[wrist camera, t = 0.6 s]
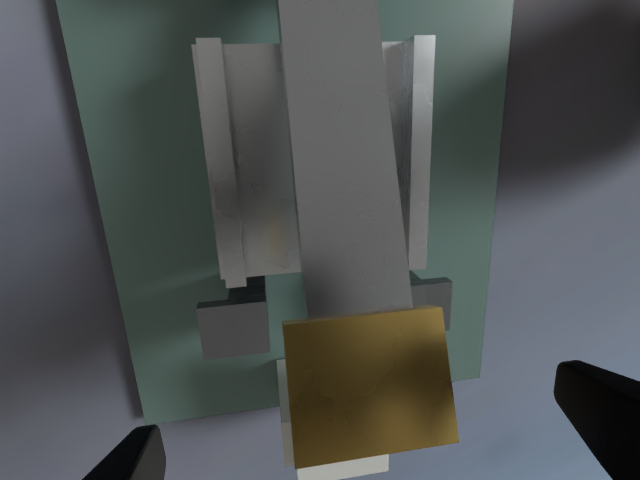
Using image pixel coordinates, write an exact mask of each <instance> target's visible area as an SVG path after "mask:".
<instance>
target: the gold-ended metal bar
mask: <svg viewBox="0 0 640 480" xmlns="http://www.w3.org/2000/svg"><path fill="white" fill-rule="evenodd" d="M276 7H277V18H278V29H279V40H280V50H281V61H282V72H283V83H284V94H285V105H286V115H287V126H288V137H289V148H290V159H291V169H292V180H293V191H294V202H295V213H296V223H297V234H298V245H299V256H300V267H301V278H302V288H303V299H304V310H305V318H303V319H294V320H285V321H282V330H283V342H284V353H285V365H286V376H287V388H288V399H289V411H290V422H291V434H292V445H293V455H294V463H295V469H301V468H308V467H314V466H320V465H326V464H332V463H338V462H344V461H350V460H356V459H362V458H368V457H374V456H380V455H386V454H392V453H398V452H404V451H410V450H416V449H422V448H428V447H434V446H440V445H446V444H452V443H458V442H459V438H458V430H457V422H456V414H455V406H454V398H453V390H452V382H451V374H450V366H449V358H448V350H447V342H446V334H445V326H444V318H443V310H442V307H440V306H434V305H428V304H427V305H418V306H413V303H412V294H411V286H410V277H409V269H408V260H407V252H406V244H405V235H404V227H403V218H402V210H401V201H400V193H399V184H398V176H397V168H396V159H395V151H394V142H393V134H392V125H391V117H390V108H389V100H388V92H387V83H386V75H385V66H384V58H383V49H382V41H381V33H380V24H379V16H378V7H377V0H276Z"/></svg>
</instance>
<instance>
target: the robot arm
mask: <svg viewBox="0 0 640 480" xmlns="http://www.w3.org/2000/svg"><path fill="white" fill-rule="evenodd" d="M554 397H555V400H556V402H557V403H558V405H559V406H560V408H561V409H562V411H563V412H564V413H565V415H566V416H567V418H568V419H569V421H570V422H571V423H572V425H573V426H574V428H575V429H576V431H577V432H578V433H579V435H580V436H581V438H582V439H583V440H584V442H585V443H586V445H587V446H588V448H589V449H590V450H591V452H592V453H593V455H594V456H595V457H596V459H597V460H598V461H599V463H600V464H601V465H602V467H603V468H604V469H605V471H606V472H607V473H608V474H609V476H610V477H611V478H612V479H613V480H640V381H637V380H634V379H631V378H628V377H625V376H622V375H620V374H617V373H614V372H611V371H608V370H605V369H602V368H599V367H597V366H594V365H591V364H588V363H585V362H582V361H579V360H572V361H565V362H561V363H559V365H558V366H557V371H556V378H555V385H554ZM165 468H166V456H165V451H164V447H163V442H162V438H161V433H160V429H159V427H158V426H157V425H155V424H153V425H147V426H140V427H137V428H135V429H134V430H132V431H131V432H130V433H129V434H128V435H127V436H126V437H125V438H124V439H123V440H122V441H121V442H120V443H119V444H118V445H117V446H116V447H115V448H114V449H113V450H112V451H111V452H110V453H109V454H108V455H107V456H106V457H105V458H104V459H103V460H102V461H101V462H100V463H99V464H98V465H97V466H95V467H94V468H93V469H92V470H91V471H90V472H89V473H88V474H87V475H86V476H85V477H84V478H83V479H82V480H164V475H165Z"/></svg>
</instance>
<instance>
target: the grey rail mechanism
mask: <svg viewBox="0 0 640 480" xmlns="http://www.w3.org/2000/svg"><path fill="white" fill-rule="evenodd" d="M435 36H436V35H414V36H412V37H411V38H409V39H408V40H406V41H404V42H382V49H383V58H384V66H385V75H386V83H387V92H388V100H389V108H390V117H391V125H392V134H393V142H394V151H395V159H396V168H397V176H398V184H399V193H400V201H401V210H402V218H403V227H404V235H405V244H406V252H407V260H408V269H409V277H410V286H411V294H412V303H413V306H418V305H427V304H428V305H434V306H440V307H442V310H443V318H444V326H445V331H447V330H450V316H451V300H452V284H453V282H452V281H451V280H450V279H448V278H447V277H440V278H430V279H420V278H419V277H418V276H417V275H416V274H415V273H414V272H413V271H412V270H416V269H426V263H427V238H428V213H429V188H430V162H431V137H432V112H433V87H434V61H435ZM191 46H192V54H193V62H194V70H195V78H196V86H197V94H198V101H199V109H200V117H201V125H202V133H203V141H204V149H205V157H206V165H207V173H208V181H209V189H210V196H211V204H212V212H213V220H214V228H215V236H216V244H217V252H218V260H219V268H220V276H221V280H222V279H225V282H226V288H229V294H228V299H227V300H217V301H207V302H198V304H197V307H196V313H197V320H198V327H199V333H200V340H201V347H202V353H203V360H212V359H220V358H228V357H236V356H244V355H252V354H261V353H269V352H270V334H269V314H268V301H267V290H266V279H265V275H274V274H285V273H295V272H301V267H300V256H299V245H298V234H297V223H296V213H295V202H294V191H293V180H292V169H291V159H290V148H289V137H288V126H287V115H286V105H285V94H284V83H283V72H282V61H281V50H280V43H264V44H223V43H222V41H221V38H196V44H194V45H191Z"/></svg>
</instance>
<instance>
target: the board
mask: <svg viewBox="0 0 640 480" xmlns="http://www.w3.org/2000/svg"><path fill="white" fill-rule="evenodd" d="M55 1H56V5H57V10H58V15H59V19H60V24H61V29H62V33H63V38H64V43H65V48H66V52H67V57H68V62H69V66H70V71H71V76H72V81H73V85H74V90H75V95H76V99H77V104H78V109H79V114H80V118H81V123H82V128H83V132H84V137H85V142H86V146H87V151H88V156H89V161H90V165H91V170H92V175H93V179H94V184H95V189H96V194H97V198H98V203H99V208H100V212H101V217H102V222H103V226H104V231H105V236H106V241H107V245H108V250H109V255H110V259H111V264H112V269H113V274H114V278H115V283H116V288H117V292H118V297H119V302H120V306H121V311H122V316H123V321H124V325H125V330H126V335H127V339H128V344H129V349H130V354H131V358H132V363H133V368H134V372H135V377H136V382H137V386H138V391H139V396H140V401H141V405H142V410H143V415H144V419H145V424H146V425H151V424H158V423H165V422H172V421H179V420H186V419H193V418H200V417H207V416H214V415H221V414H228V413H235V412H242V411H249V410H256V409H263V408H270V407H277V406H280V400H279V387H278V374H277V361H276V360H280V359H285V353H284V342H283V330H282V321H285V320H294V319H303V318H305V310H304V299H303V288H302V278H301V272H295V273H285V274H274V275H265V279H266V290H267V301H268V314H269V334H270V352H269V353H261V354H252V355H244V356H236V357H228V358H220V359H212V360H203V353H202V347H201V340H200V333H199V327H198V320H197V313H196V307H197V304H198V302H207V301H217V300H227V299H228V294H229V288H226V282H225V279H222V280H221V276H220V268H219V260H218V252H217V244H216V236H215V228H214V220H213V212H212V204H211V196H210V189H209V181H208V173H207V165H206V157H205V149H204V141H203V133H202V125H201V117H200V109H199V101H198V94H197V86H196V78H195V70H194V62H193V54H192V46H191V45H194V44H196V38H221V41H222V43H223V44H264V43H280V40H279V29H278V18H277V7H276V0H55ZM513 3H514V0H377V7H378V16H379V24H380V33H381V41H382V42H404V41H406V40H408V39H409V38H411V37H412V36H414V35H436V36H435V61H434V87H433V112H432V137H431V162H430V188H429V213H428V238H427V263H426V269H416V270H412V271H413V272H414V273H415V274H416V275H417V276H418V277H419V278H420V279H430V278H440V277H447V278H448V279H450V280H451V281H452V282H453V284H452V300H451V316H450V330H447V331H445V334H446V342H447V350H448V358H449V366H450V374H451V382H452V381H459V380H466V379H473V378H480V368H481V357H482V346H483V335H484V324H485V313H486V302H487V291H488V280H489V269H490V257H491V246H492V235H493V224H494V213H495V202H496V191H497V180H498V169H499V158H500V147H501V136H502V125H503V114H504V103H505V92H506V81H507V70H508V58H509V47H510V36H511V25H512V14H513Z"/></svg>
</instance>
